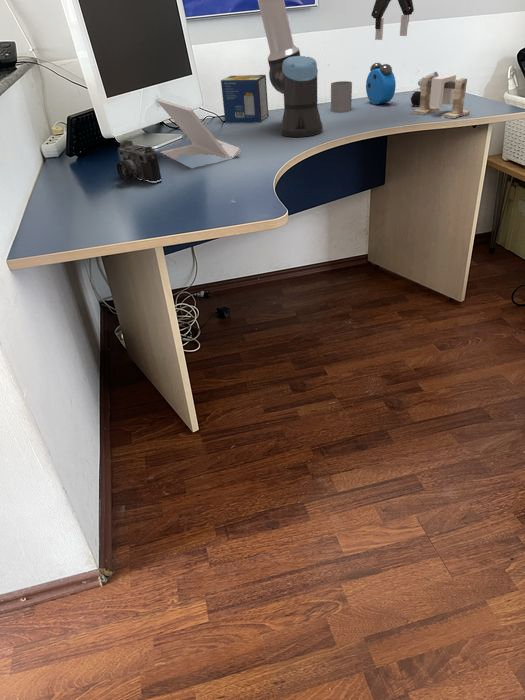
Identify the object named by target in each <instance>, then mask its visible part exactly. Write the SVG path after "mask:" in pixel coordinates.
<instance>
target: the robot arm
mask: <svg viewBox="0 0 525 700" xmlns="http://www.w3.org/2000/svg"><path fill="white" fill-rule="evenodd" d="M391 1H392V0H375V2H374V4H373V8H372V10H371V16H370V17H372V18H373V19H375V22H374V23H375V24H374V25H375V26H374V28H375V36H374V37H375V39H374V40H375V41H382V40H383V34H384V18H383V16H384V14H385V13H386V10H387V8H388V7H389V4H390V2H391ZM397 2H398V5H399V7H400V10H401V12H402V14H401V15H400V16H401V17H400V25H399V26H400V27H399V28H400V29H399V36H400V37H407V36H408V27H409V22H410V16H411V15H412V14H413V12H414V11H415V10H414V9H415V8H414V4H413V0H397ZM285 3H286V2H285V0H257V4H258V9H259V12H260V16H261V21H262V24H263V28H264V31H265V32H264V33H265V35H266V40H267V44H268V49H269V54H268V57H267V63H268V66H269V71H268V78H269V82H270V83H271V86H272V88H274V89H275V91H277V92H278V93H280V94H282V95H283V103H284V104H283V105H284V110H283V115H282V121H281V125H280V127H279V128H280V130H279V131H280V134H281V135H282V136H283V137H288V138H289V137H291V138H303V137H304V138H305V137H311V136H315V135H316V136H317V135H319V134H321V133H323V130H324V129H323V128H324V127H323V126H324V125H323V122H322V119H321V116H320V112H319V107H318V63H317V61H316V59H315V58H313V57H312V56H311V57H310V56H305V55H302V54H301V52H300V51H301V50H300V48H299V47H297V46H296V45H295V44H294V41H293V36H292V32H291V27H290V22H289V21H290V20H289V18H288V17H289V16H288V13H287V8H286V4H285Z"/></svg>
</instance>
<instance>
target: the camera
mask: <svg viewBox="0 0 525 700" xmlns="http://www.w3.org/2000/svg"><path fill="white" fill-rule="evenodd" d="M119 145H120V146H119V147H118V152H119V156H120V157H121V158H122V160H120V161H118V162H117V164H116V170H117V174H118V176H119V179H121V180H122V181H125V182H129V181H132V180H134V179H136V178H139V179H142V180H149V181H157V180H160V179H162V175H161V170H160V169H161V168H160V165H159V164H160V163H159V156H158V151H156V150H154V149H153V146H146V147H144V146H141V145H138V144H137V145H136V144H133V141H132V140H123V141H121V142H119ZM139 179H138V180H139Z"/></svg>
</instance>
